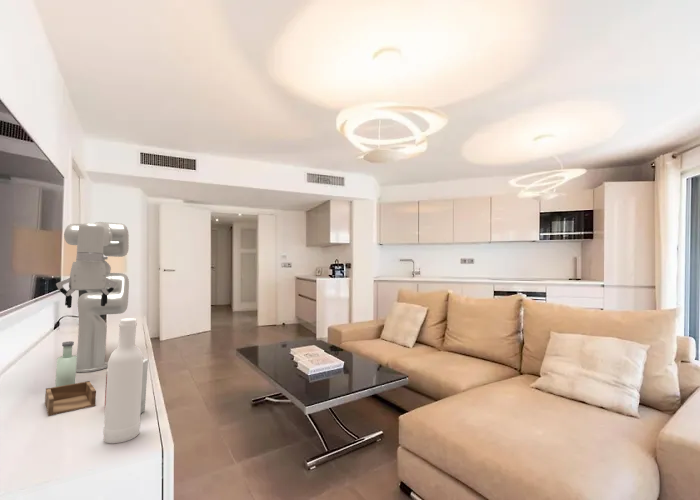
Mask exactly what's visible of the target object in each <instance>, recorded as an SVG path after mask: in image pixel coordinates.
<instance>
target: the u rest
mask: <svg viewBox="0 0 700 500" xmlns="http://www.w3.org/2000/svg"><path fill="white" fill-rule="evenodd" d="M96 397H97V390H96V388H95V387H94V385H93V384H92V383H91V381H90V380H87V381H81V382H77V383H76V382H75V384H70V385H64V386H58V387H55V386H54V387H48V388H47V387H46V388H45V397H44V406H45V409H46V412H47V416H48V417H51V416H54V415H55V416H56V415H60V414H64V413H68V412H74V411H78V410H81V409H87V408H91V407H95V406H96Z"/></svg>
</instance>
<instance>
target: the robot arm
mask: <svg viewBox="0 0 700 500" xmlns="http://www.w3.org/2000/svg"><path fill="white" fill-rule="evenodd" d="M129 237H130V235H129V229H128V227H127V226H126V225H125V224H123V223H118V222H103V221H96V222H93V223H92V222H88V223H72V224H71V223H70V224H69V225H67V226H66V227H65V230H64V232H63V239H64V241H65V242H66V244H68V245H71V246H76V259H75V261H72V264H71V267H70V268H71V269H70V274H69V278H66V279H64V280H61V281H59V282H57V283H55V285H56V287H57V289H58V291H59V292H60V293H61V294H63V295H64V296H65V302H64V305H65V306H66V307H67V308H68V309H71V308H72V305H73V304H72V303H73V296H72V294H73V293H74V292H75V291H86V292H85V293H82V294H81V295H80V296H78V299H77V313H78V332H77V333H78V335H77V351H76V356H77V363H76V373H88V372H89V373H91V372H95V371H101V370H104V369H106V368H107V369H108V361H106V349H107V348H106V345H107V331H108V329H107V327H108V326H107V325H108V324H107V321H106V320H104V319H103V318H102V317H101V316H103V315H104V316H105V315H119V314H120V315H121V314H123V313H125V312H126V311H127V310H128V305H129V289H130V281H129V276H128V275H127V274H125V273H123V272H112V271H111V270H112V267H111V265H110V264H109V263H108V262H107V261H106V260H108V257H112V258H113V257H114V258H116V257H118V258H119V257H125V256H127V255H128V253H129V247H130V246H129V244H130V243H129V240H130V239H129ZM66 284H68V288H69V289H68V290H67V289H65V288H64V285H66Z"/></svg>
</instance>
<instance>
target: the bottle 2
mask: <svg viewBox="0 0 700 500" xmlns="http://www.w3.org/2000/svg"><path fill="white" fill-rule="evenodd" d="M137 324H138V323H137V318H136V317H135V318H134V317H131V318H129V317H126V318H121V319H120V320H119V324H118V327H119V334H118V335H119V337H118V347H116V348H115V349H114V350H113V351H112V352H111V354H110V356H109V358H108V361H107V362H108V367H107V370H106V374H107V387H106V386H105V390H106V404H105V403H104V408H105V409H104V422H103V423H104V426H103V431H102V433H103V434H102V435H103V439H102V440H103V441H104V442H105V443H108V444H120V443H125V442H128V441H130V440H133V439H135V438H136V437H137V436H138V435H139V434H140V428H141V414H140V410H141V392H142V373H143V359H144V355H143V352H142V349H140V348H139V346H136V333H137V326H138V325H137Z"/></svg>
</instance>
